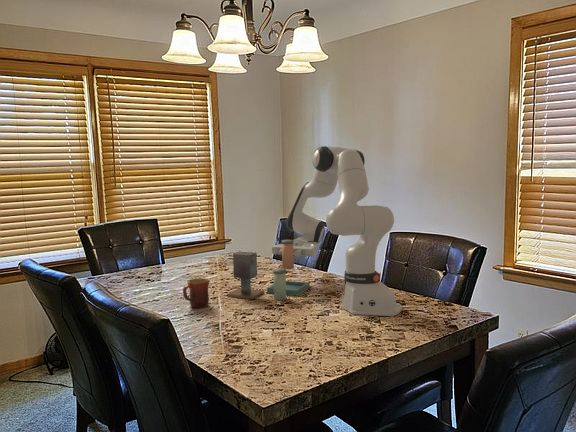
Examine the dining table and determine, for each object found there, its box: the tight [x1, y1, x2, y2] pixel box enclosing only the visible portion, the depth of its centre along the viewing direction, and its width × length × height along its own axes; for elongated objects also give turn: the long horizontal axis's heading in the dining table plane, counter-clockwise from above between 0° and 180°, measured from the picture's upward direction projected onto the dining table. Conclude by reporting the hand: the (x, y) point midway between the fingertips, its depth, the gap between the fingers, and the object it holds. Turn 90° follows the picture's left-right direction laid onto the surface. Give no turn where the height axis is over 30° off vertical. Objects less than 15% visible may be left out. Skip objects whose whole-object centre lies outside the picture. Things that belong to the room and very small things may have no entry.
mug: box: [182, 277, 211, 309], centre depth 188 cm, size 12×9×10 cm
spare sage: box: [272, 268, 287, 301], centre depth 197 cm, size 5×5×12 cm
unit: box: [227, 251, 265, 301], centre depth 203 cm, size 12×10×18 cm
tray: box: [266, 280, 310, 297], centre depth 210 cm, size 14×14×2 cm
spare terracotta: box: [281, 239, 295, 270], centre depth 209 cm, size 5×5×12 cm
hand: (286, 253), depth 208 cm, fingers closed on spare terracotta, 5 cm apart
